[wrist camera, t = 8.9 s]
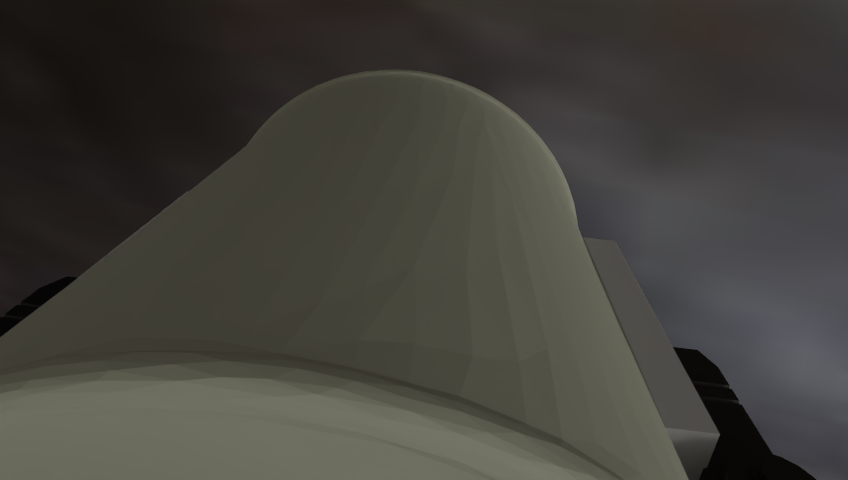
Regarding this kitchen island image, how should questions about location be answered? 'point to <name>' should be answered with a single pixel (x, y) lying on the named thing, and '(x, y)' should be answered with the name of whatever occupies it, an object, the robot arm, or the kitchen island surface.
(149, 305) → the can
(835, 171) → the kitchen island surface
